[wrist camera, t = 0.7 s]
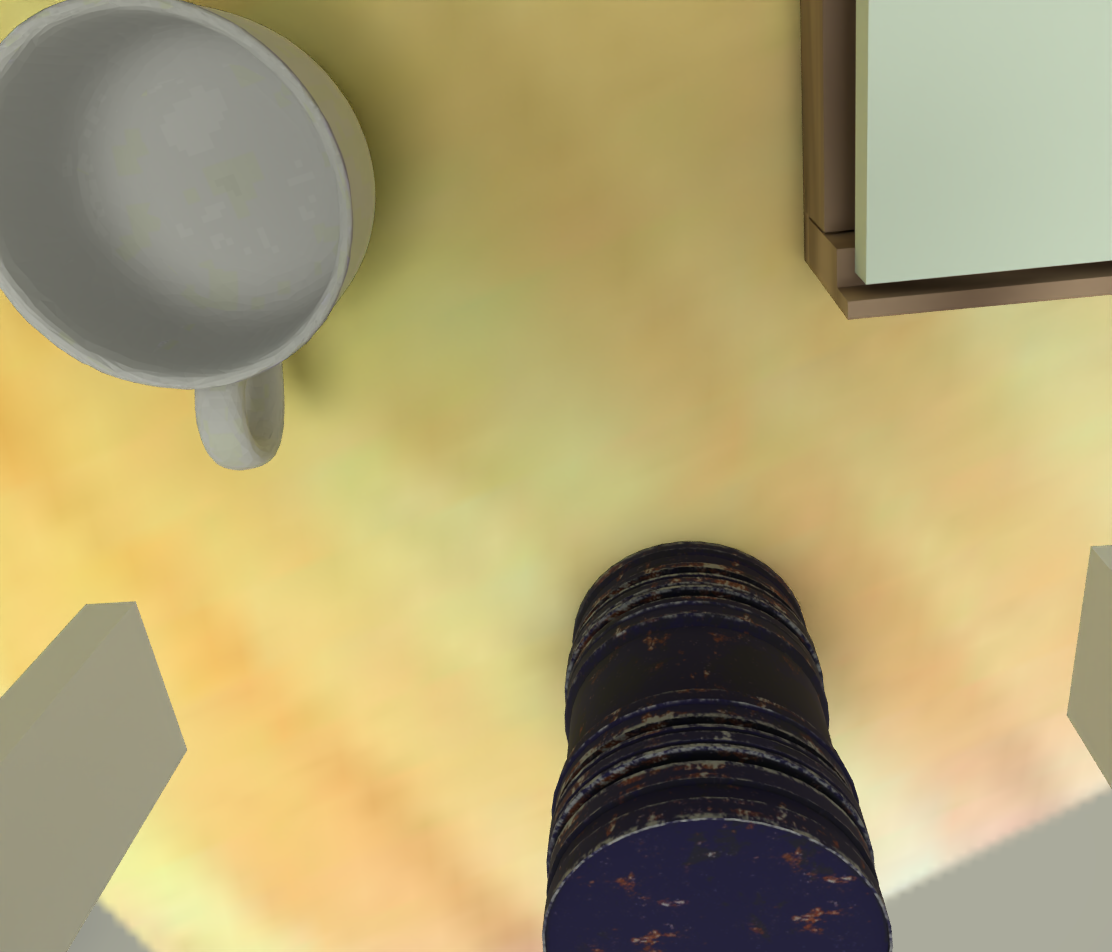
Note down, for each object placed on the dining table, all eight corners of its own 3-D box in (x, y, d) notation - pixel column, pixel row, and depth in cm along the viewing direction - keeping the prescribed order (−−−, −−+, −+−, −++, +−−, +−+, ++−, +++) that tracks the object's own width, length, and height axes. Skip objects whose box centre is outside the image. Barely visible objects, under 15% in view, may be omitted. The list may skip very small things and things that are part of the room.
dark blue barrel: (542, 565, 40) (493, 844, 26) (784, 514, 38) (867, 784, 24) (604, 755, 43) (589, 1084, 30) (827, 717, 42) (919, 1048, 28)
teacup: (80, -13, 32) (-84, -25, 25) (408, 12, 32) (340, 6, 24) (129, 389, 38) (9, 475, 31) (406, 414, 37) (352, 507, 30)
